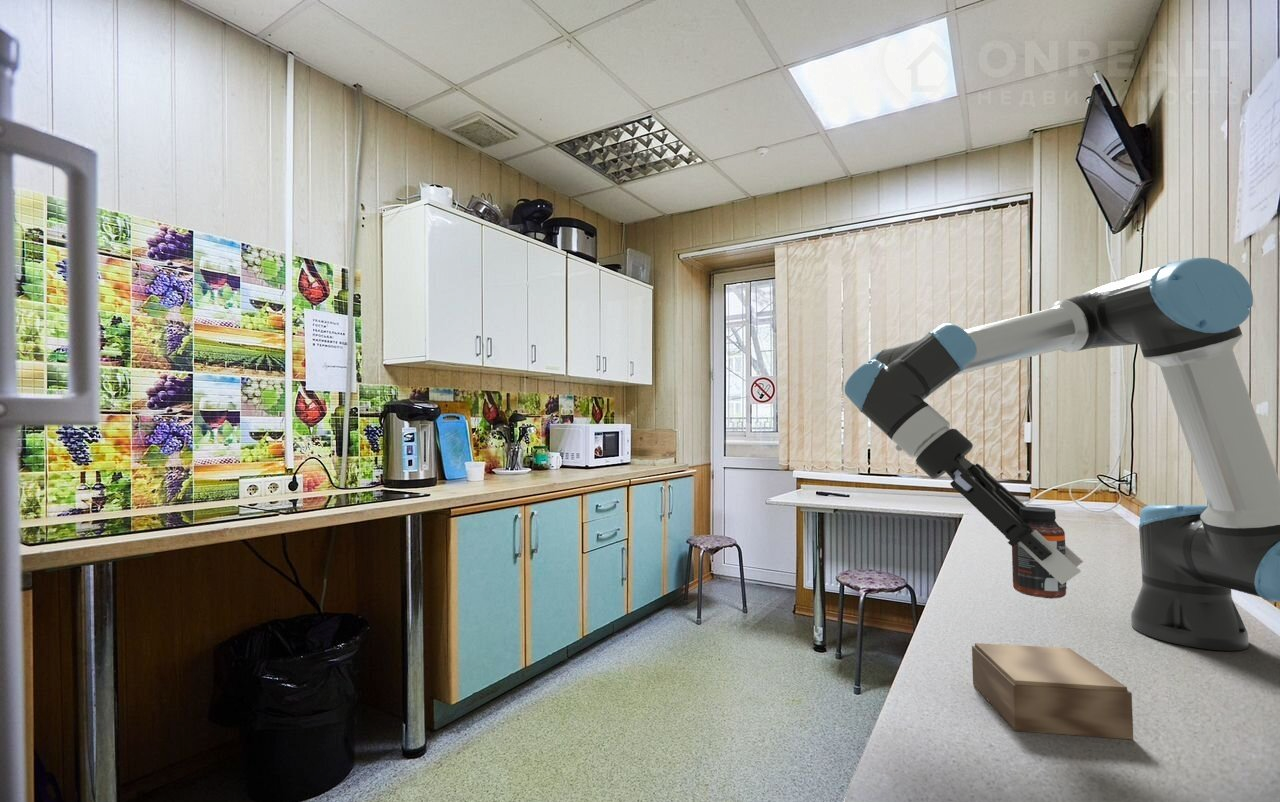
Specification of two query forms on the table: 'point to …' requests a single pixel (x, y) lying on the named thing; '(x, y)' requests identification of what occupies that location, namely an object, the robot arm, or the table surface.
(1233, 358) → the robot arm
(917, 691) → the table surface
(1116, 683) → the block
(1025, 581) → the supplement bottle
